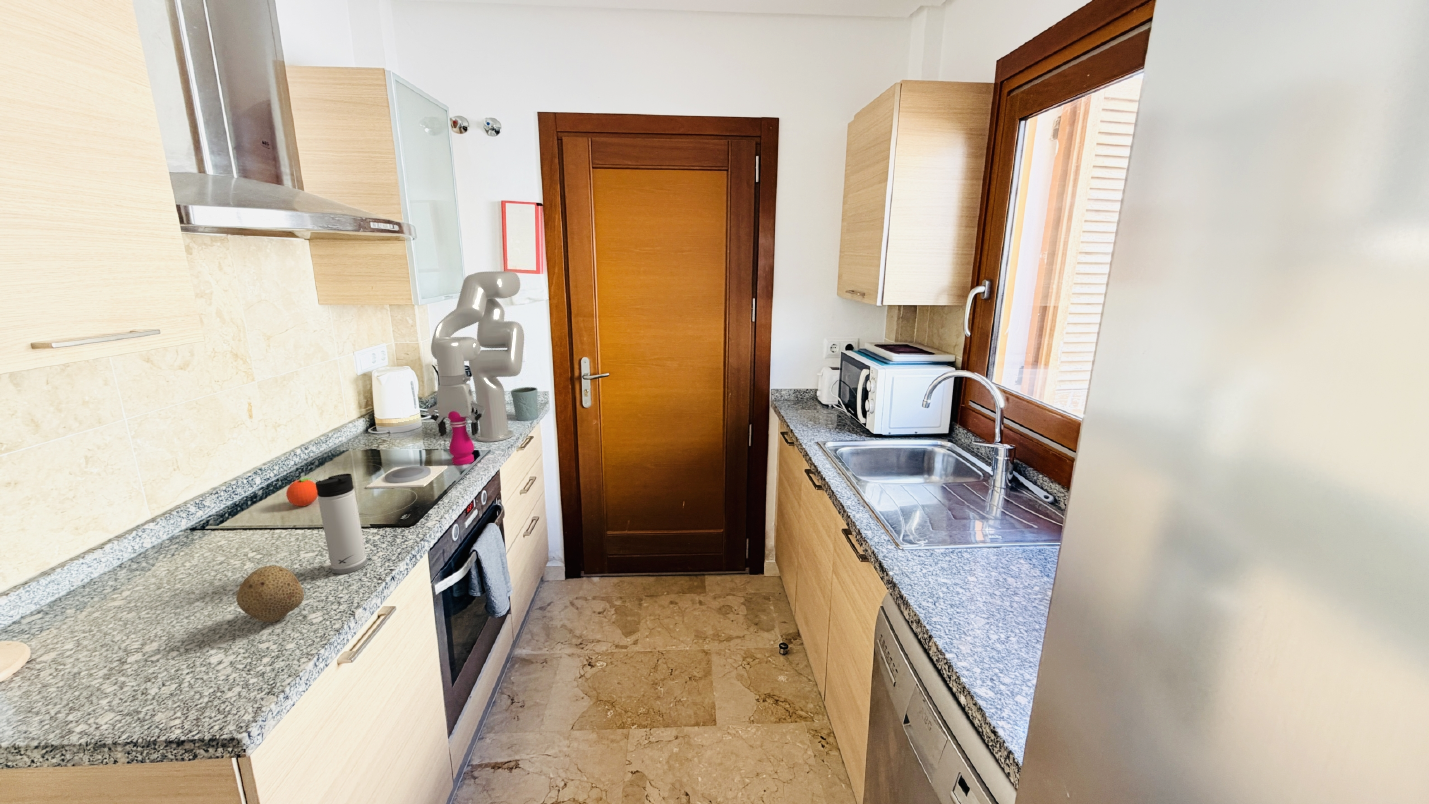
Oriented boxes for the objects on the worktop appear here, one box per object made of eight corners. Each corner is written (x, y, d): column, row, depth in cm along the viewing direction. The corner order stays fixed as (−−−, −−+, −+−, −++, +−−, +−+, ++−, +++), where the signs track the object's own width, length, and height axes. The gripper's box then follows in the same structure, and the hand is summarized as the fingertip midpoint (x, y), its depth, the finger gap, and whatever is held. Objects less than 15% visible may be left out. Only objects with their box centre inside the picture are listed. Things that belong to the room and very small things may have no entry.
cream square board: (394, 469, 180) (394, 464, 180) (447, 467, 180) (446, 462, 180) (366, 488, 165) (365, 483, 164) (423, 486, 165) (423, 481, 165)
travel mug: (348, 577, 117) (330, 483, 113) (324, 571, 120) (306, 479, 115) (375, 562, 123) (359, 472, 118) (352, 557, 125) (336, 469, 121)
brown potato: (237, 620, 103) (225, 569, 101) (297, 598, 110) (287, 550, 108) (249, 641, 98) (236, 587, 95) (311, 617, 104) (301, 566, 102)
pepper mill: (469, 465, 182) (462, 403, 177) (446, 466, 182) (438, 403, 177) (479, 458, 189) (472, 397, 184) (457, 458, 189) (449, 398, 184)
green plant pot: (542, 415, 242) (539, 386, 239) (536, 421, 232) (533, 391, 229) (517, 415, 241) (514, 387, 238) (510, 422, 231) (507, 392, 229)
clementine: (314, 496, 160) (309, 472, 158) (330, 500, 157) (325, 475, 155) (283, 508, 152) (277, 482, 151) (299, 512, 150) (294, 486, 148)
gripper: (485, 377, 183) (491, 430, 187) (429, 379, 183) (436, 432, 186) (476, 382, 176) (483, 437, 179) (418, 383, 175) (425, 438, 179)
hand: (459, 434), depth 183 cm, fingers open, 9 cm apart
